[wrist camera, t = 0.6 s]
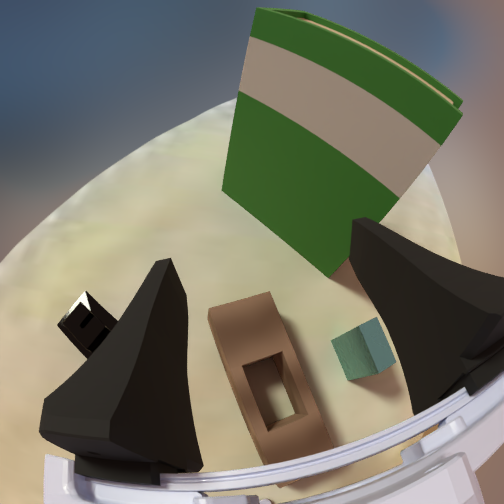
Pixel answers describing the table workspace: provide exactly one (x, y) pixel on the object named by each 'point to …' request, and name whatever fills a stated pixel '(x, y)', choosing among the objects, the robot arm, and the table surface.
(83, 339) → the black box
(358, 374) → the teal rectangular block
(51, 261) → the table surface
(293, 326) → the table surface
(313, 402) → the slotted beam
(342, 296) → the table surface
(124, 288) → the table surface
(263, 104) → the hardback book
